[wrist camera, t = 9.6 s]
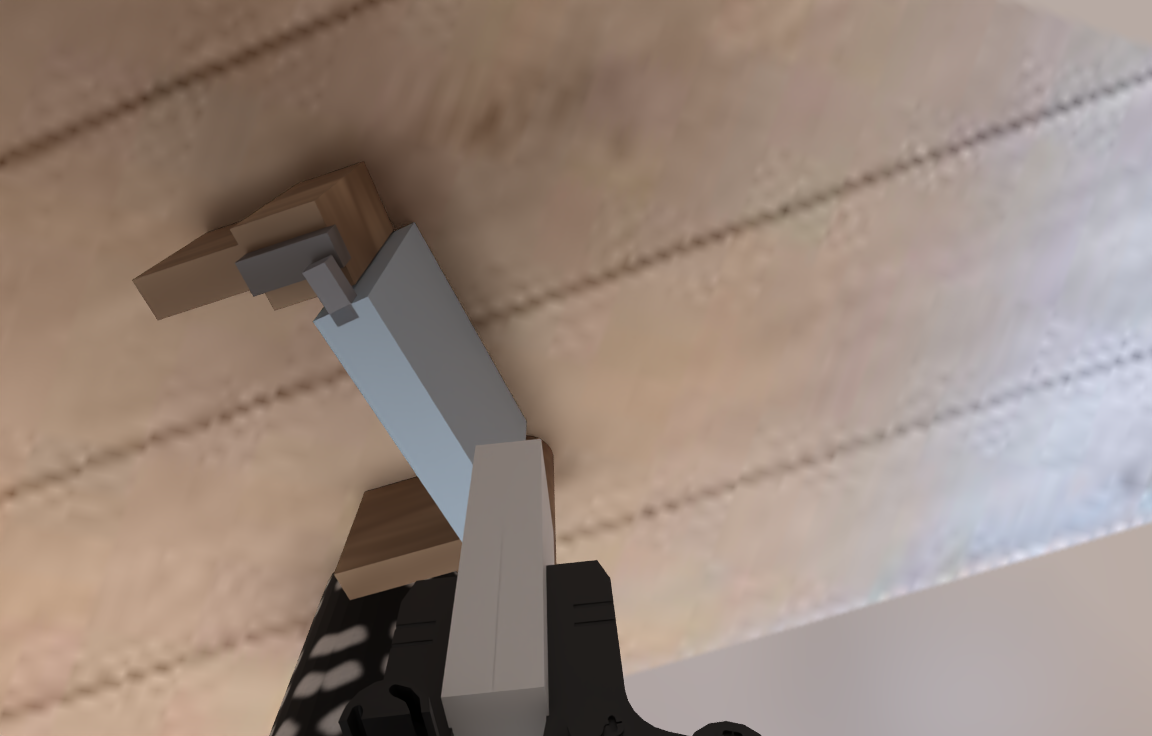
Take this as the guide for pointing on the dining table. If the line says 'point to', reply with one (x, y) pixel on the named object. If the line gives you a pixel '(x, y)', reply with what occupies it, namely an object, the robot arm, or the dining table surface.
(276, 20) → the dining table surface
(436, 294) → the gate
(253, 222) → the pair of brown blocks
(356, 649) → the white-spotted black cylinder
